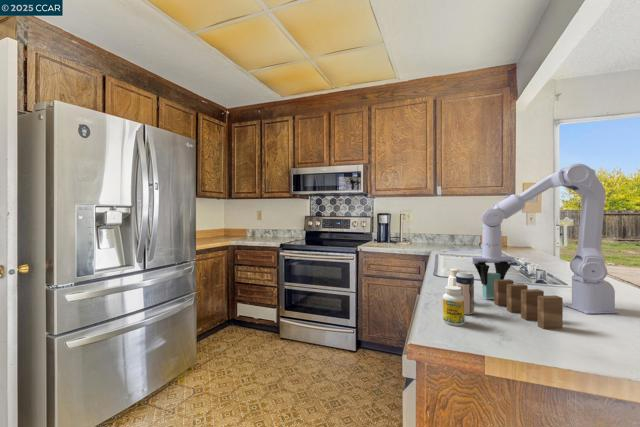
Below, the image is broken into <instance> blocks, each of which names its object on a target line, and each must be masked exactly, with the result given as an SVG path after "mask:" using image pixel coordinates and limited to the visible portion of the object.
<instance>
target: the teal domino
mask: <svg viewBox="0 0 640 427" xmlns="http://www.w3.org/2000/svg"><path fill="white" fill-rule="evenodd" d="M500 278H501V274H498V273H496V272H488V275H487V285H484V284H482V297H483V298H485V299H494V280H500Z"/></svg>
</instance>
